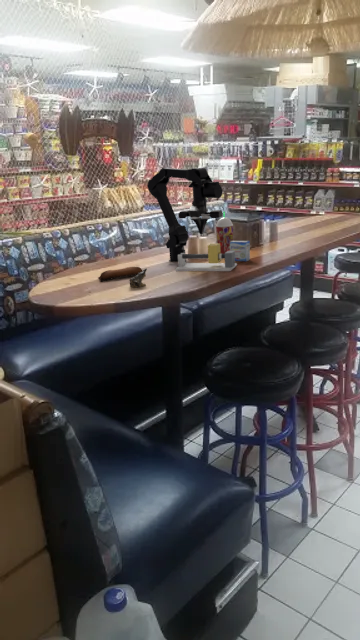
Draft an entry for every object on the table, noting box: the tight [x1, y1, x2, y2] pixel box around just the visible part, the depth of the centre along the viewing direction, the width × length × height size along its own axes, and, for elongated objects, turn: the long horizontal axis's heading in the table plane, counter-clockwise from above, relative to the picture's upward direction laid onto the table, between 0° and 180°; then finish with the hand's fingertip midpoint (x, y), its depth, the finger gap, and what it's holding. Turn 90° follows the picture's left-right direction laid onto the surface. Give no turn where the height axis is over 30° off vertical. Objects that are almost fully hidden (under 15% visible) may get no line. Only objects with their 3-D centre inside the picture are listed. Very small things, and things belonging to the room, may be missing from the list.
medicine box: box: [230, 240, 251, 262], centre depth 230 cm, size 8×4×9 cm, turn 62°
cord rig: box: [174, 251, 238, 272], centre depth 220 cm, size 24×12×7 cm, turn 70°
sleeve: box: [207, 242, 222, 263], centre depth 218 cm, size 4×5×8 cm
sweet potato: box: [97, 266, 143, 282], centre depth 214 cm, size 18×7×7 cm, turn 112°
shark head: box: [129, 268, 148, 288], centre depth 196 cm, size 8×6×7 cm
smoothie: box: [215, 211, 234, 254], centre depth 246 cm, size 8×8×20 cm
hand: (201, 234), depth 228 cm, fingers closed
